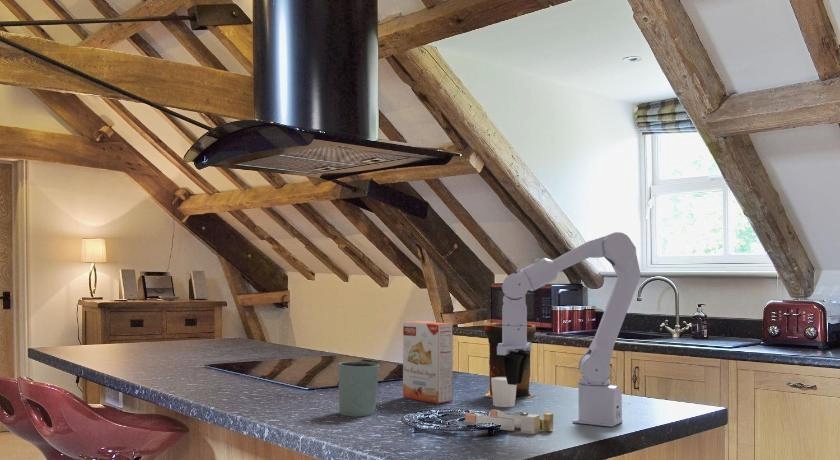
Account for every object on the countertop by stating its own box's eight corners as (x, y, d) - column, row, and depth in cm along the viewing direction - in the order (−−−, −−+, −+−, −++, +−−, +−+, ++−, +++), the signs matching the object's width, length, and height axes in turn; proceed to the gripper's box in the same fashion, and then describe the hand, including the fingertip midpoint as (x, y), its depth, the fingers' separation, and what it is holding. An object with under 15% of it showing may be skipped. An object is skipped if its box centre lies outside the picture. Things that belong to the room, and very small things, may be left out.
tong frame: (539, 431, 174) (539, 413, 174) (533, 434, 171) (533, 415, 171) (472, 423, 182) (472, 405, 182) (465, 426, 179) (465, 408, 180)
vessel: (517, 389, 235) (518, 321, 236) (545, 398, 222) (545, 325, 223) (474, 392, 229) (475, 322, 229) (500, 401, 216) (501, 327, 217)
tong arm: (525, 428, 176) (525, 417, 177) (520, 428, 176) (520, 417, 176) (495, 419, 186) (495, 409, 187) (490, 420, 186) (490, 409, 186)
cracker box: (401, 397, 219) (402, 320, 220) (417, 395, 223) (418, 320, 224) (437, 404, 209) (437, 323, 210) (453, 401, 213) (453, 322, 214)
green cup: (340, 409, 200) (340, 360, 201) (380, 409, 200) (381, 361, 200) (334, 416, 190) (335, 365, 191) (377, 417, 190) (377, 366, 190)
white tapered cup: (500, 402, 213) (500, 375, 214) (522, 405, 209) (522, 377, 209) (485, 405, 208) (485, 378, 208) (507, 408, 204) (507, 380, 204)
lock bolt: (553, 430, 175) (553, 413, 175) (549, 431, 173) (549, 414, 173) (532, 427, 177) (532, 411, 177) (528, 428, 176) (528, 412, 176)
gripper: (512, 323, 196) (512, 379, 196) (485, 326, 184) (484, 386, 183) (539, 324, 193) (539, 381, 192) (513, 327, 180) (512, 388, 180)
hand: (514, 383), depth 187 cm, fingers closed
